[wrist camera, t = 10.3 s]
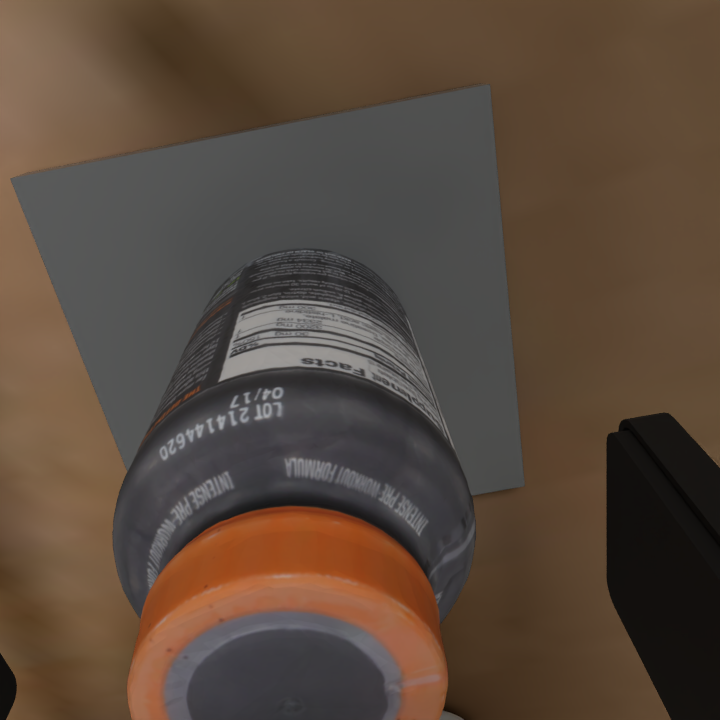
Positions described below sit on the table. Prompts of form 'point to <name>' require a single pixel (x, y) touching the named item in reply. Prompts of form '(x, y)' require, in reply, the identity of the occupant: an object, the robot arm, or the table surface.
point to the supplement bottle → (449, 716)
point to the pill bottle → (295, 509)
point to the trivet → (291, 231)
